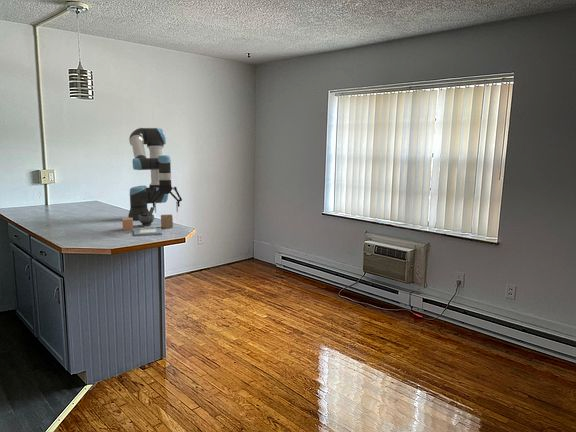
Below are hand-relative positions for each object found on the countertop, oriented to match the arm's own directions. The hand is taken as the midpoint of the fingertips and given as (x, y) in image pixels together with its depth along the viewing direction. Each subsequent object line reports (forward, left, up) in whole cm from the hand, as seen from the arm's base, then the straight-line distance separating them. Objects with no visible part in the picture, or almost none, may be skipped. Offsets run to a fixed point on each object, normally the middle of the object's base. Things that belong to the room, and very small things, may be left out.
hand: (166, 212), depth 287 cm
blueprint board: (+18, -3, -10) cm, 21 cm away
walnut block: (0, 0, -10) cm, 10 cm away
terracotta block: (+13, -20, -10) cm, 26 cm away
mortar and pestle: (-2, -16, -10) cm, 19 cm away
